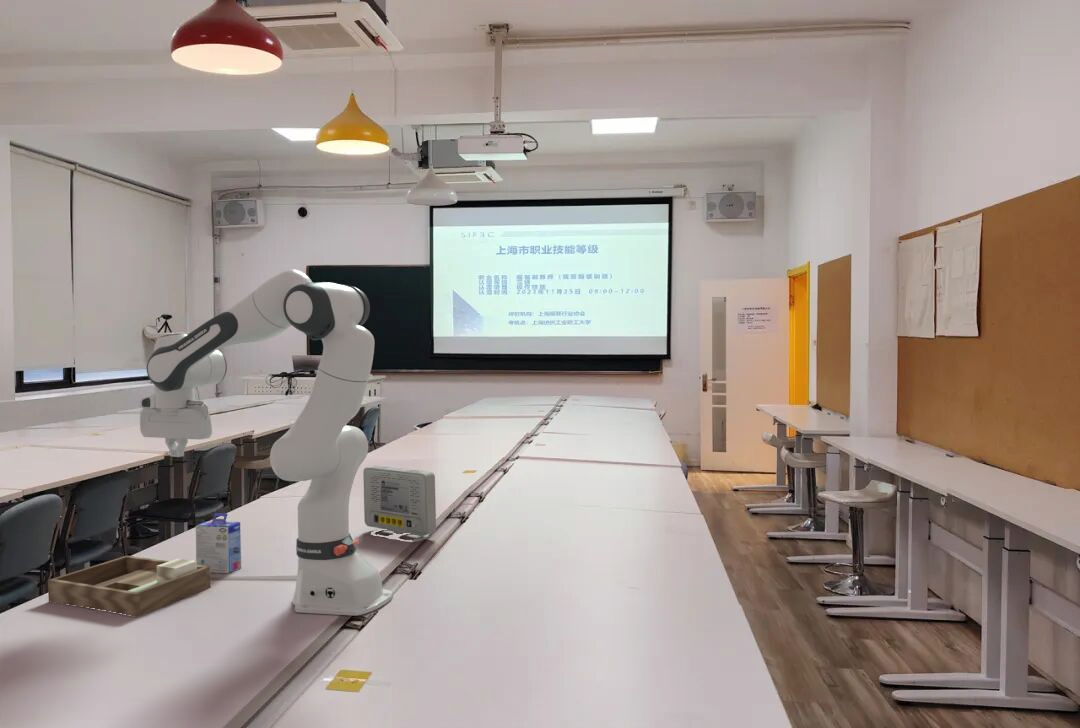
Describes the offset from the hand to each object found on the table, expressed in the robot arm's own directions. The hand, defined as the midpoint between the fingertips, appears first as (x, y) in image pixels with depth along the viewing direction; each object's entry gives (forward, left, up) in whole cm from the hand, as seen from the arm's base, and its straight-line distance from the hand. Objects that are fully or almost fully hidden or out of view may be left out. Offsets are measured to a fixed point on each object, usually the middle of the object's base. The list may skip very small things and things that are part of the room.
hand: (176, 456), depth 178 cm
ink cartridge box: (-2, -10, -31) cm, 33 cm away
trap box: (+4, +11, -31) cm, 33 cm away
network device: (-28, -54, -31) cm, 68 cm away
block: (-6, +6, -28) cm, 29 cm away
